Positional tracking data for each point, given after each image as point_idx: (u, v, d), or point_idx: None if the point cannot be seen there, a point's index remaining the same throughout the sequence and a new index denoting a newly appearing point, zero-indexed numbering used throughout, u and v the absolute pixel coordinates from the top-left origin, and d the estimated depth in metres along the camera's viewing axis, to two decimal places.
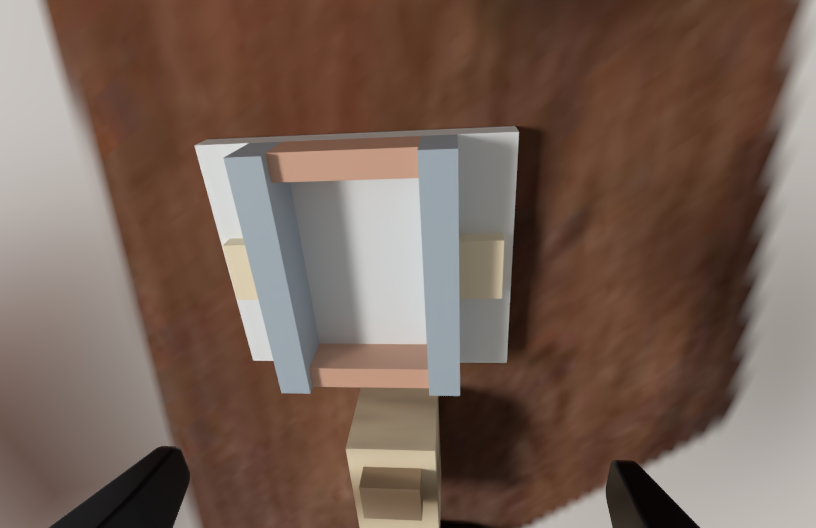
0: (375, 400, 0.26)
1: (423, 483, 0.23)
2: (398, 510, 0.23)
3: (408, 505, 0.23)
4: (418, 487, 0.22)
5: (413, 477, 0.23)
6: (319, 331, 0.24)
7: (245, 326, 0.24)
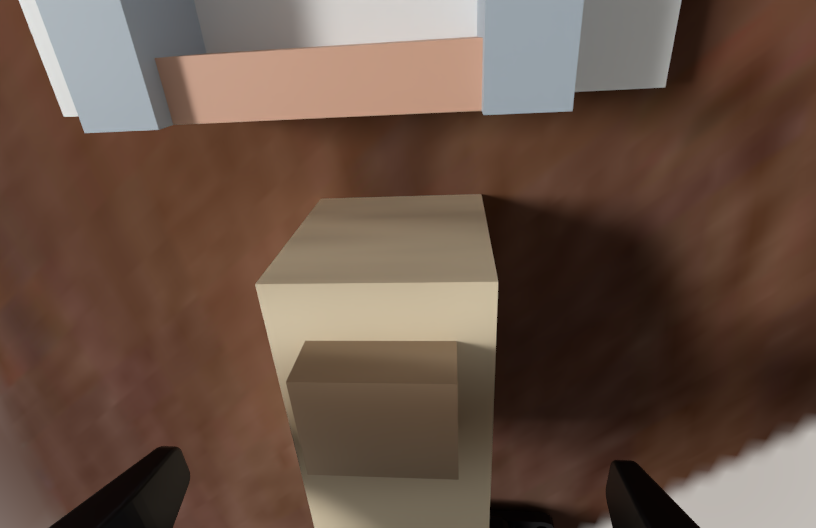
0: (344, 217, 0.11)
1: (460, 386, 0.09)
2: (395, 450, 0.08)
3: (423, 433, 0.08)
4: (453, 378, 0.08)
5: (437, 358, 0.08)
6: (202, 12, 0.10)
7: (25, 7, 0.10)
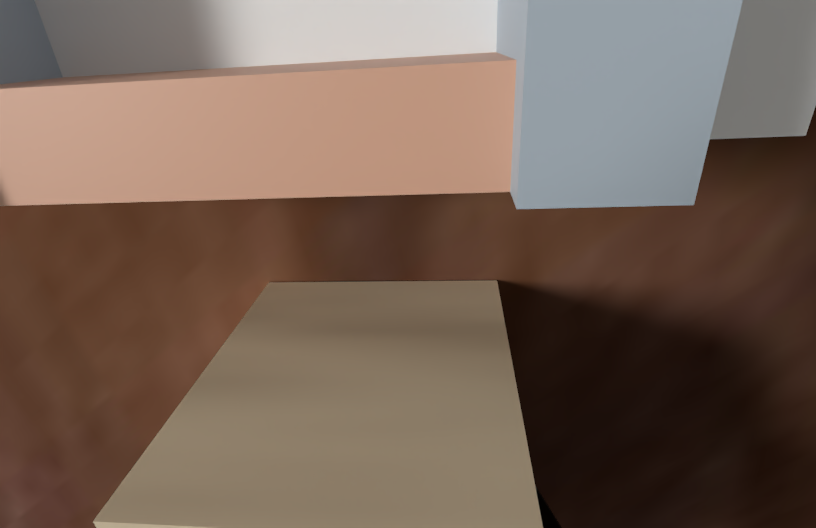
0: (291, 330, 0.07)
1: None
2: None
3: None
4: None
5: None
6: (47, 12, 0.06)
7: None
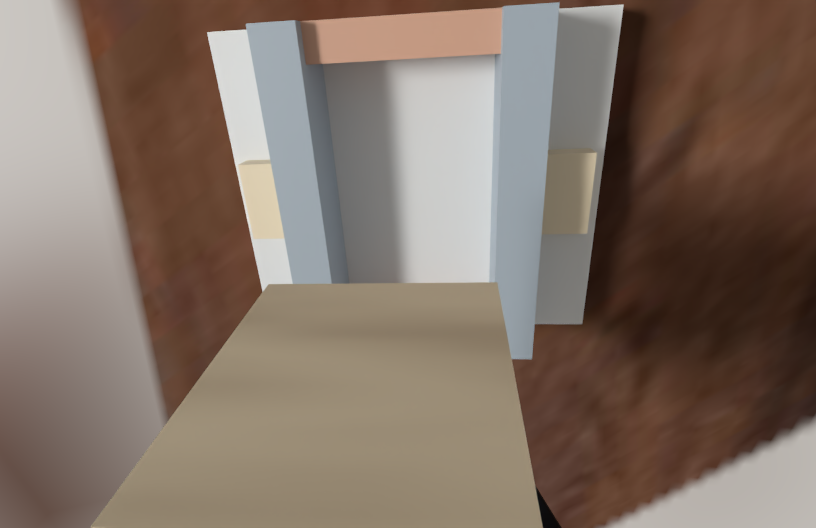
0: (291, 333, 0.07)
1: None
2: None
3: None
4: None
5: None
6: None
7: (261, 278, 0.20)
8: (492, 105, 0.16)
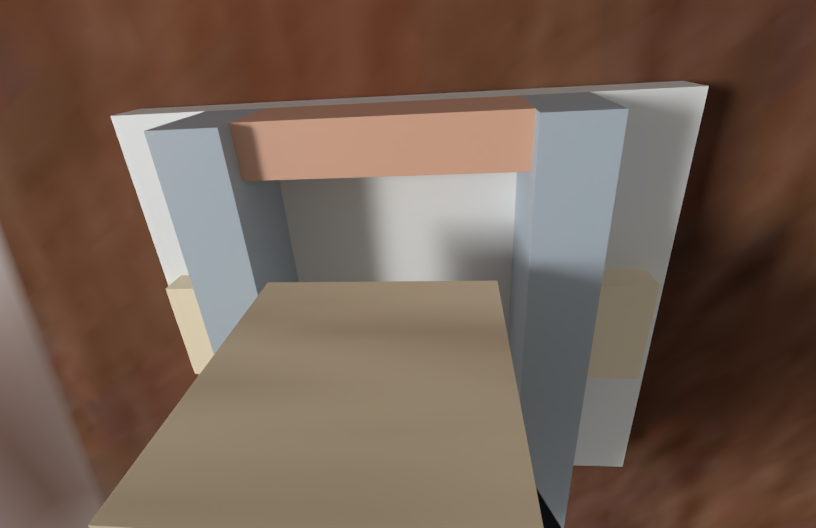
0: (290, 331, 0.07)
1: None
2: None
3: None
4: None
5: None
6: None
7: None
8: (512, 215, 0.11)
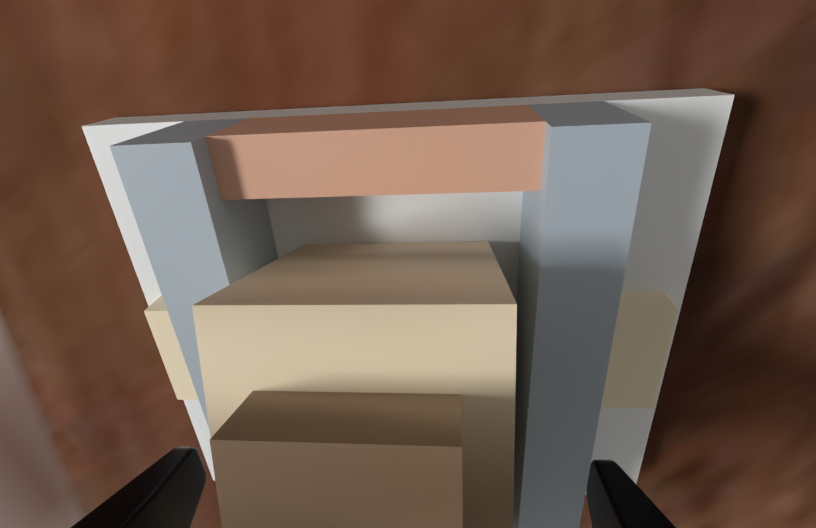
0: (326, 256, 0.10)
1: (465, 467, 0.07)
2: None
3: None
4: (455, 439, 0.05)
5: (433, 414, 0.06)
6: None
7: (197, 432, 0.15)
8: (518, 233, 0.11)
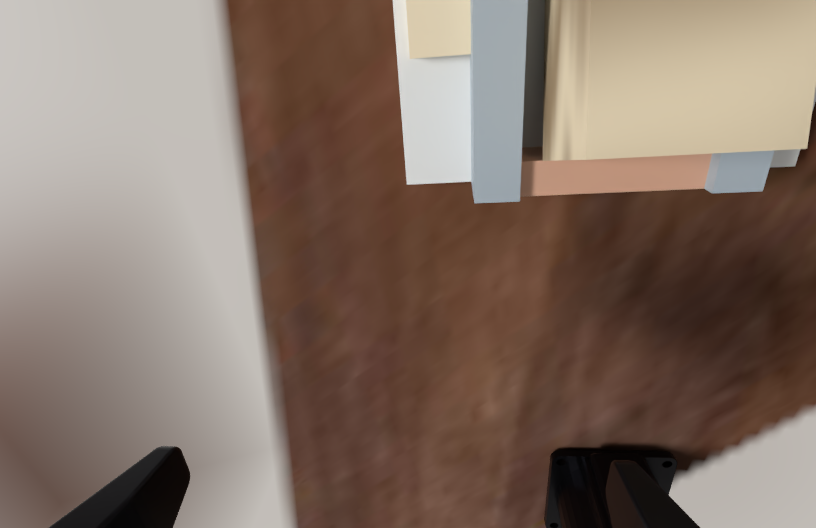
0: None
1: None
2: None
3: None
4: None
5: None
6: None
7: (404, 123, 0.17)
8: None
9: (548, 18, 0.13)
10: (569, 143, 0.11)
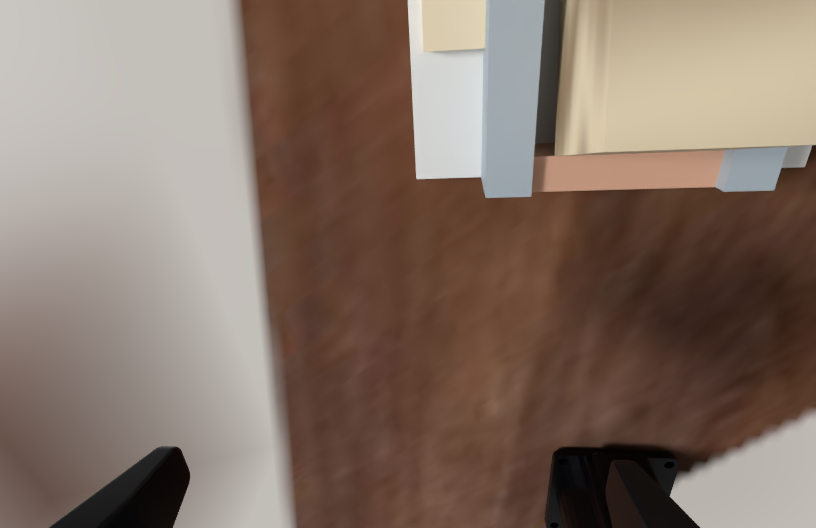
0: None
1: None
2: None
3: None
4: None
5: None
6: None
7: (415, 117, 0.17)
8: None
9: (564, 13, 0.13)
10: (584, 136, 0.11)
